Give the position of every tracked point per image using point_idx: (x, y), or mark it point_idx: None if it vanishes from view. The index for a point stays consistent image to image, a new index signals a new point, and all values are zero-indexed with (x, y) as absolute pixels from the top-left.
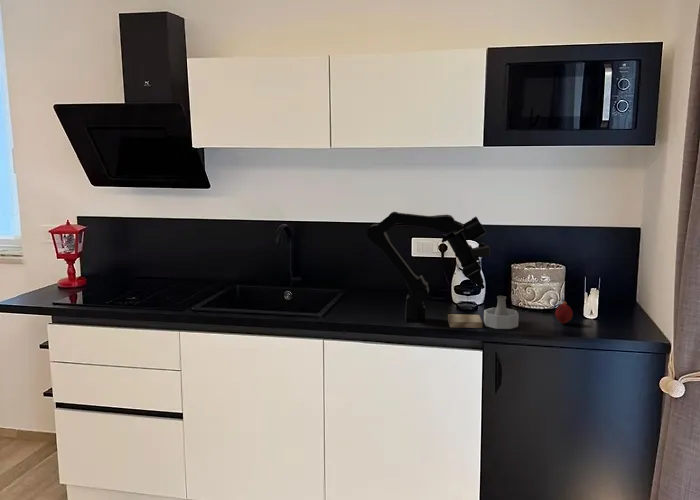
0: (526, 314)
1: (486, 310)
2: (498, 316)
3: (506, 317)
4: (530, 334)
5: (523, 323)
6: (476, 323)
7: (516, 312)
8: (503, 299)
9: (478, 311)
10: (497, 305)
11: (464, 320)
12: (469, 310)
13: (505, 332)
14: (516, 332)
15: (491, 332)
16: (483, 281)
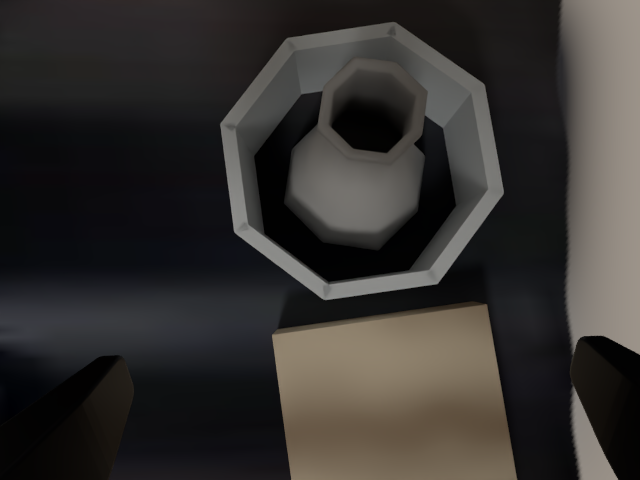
0: (61, 10)
1: (320, 279)
2: (500, 180)
3: (485, 120)
4: (547, 3)
5: (297, 36)
6: (491, 347)
7: (353, 37)
8: (408, 97)
9: (32, 335)
10: (382, 177)
11: (465, 441)
12: (13, 402)
13: (541, 152)
14: (523, 85)
15: (563, 240)
16: (114, 363)
